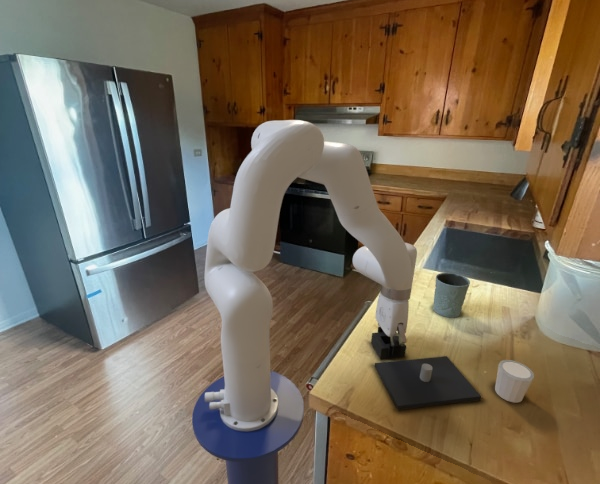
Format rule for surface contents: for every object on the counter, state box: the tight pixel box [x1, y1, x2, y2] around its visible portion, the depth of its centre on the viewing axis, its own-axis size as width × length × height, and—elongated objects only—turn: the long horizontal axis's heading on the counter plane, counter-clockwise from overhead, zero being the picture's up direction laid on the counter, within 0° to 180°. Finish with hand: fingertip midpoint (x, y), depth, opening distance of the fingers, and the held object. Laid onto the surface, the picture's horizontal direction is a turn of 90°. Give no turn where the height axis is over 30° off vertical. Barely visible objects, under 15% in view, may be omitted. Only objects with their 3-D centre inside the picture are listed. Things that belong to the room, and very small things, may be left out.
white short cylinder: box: [494, 359, 535, 404], centre depth 76 cm, size 7×7×7 cm
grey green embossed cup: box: [432, 272, 471, 318], centre depth 108 cm, size 10×10×12 cm
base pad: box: [374, 355, 482, 411], centre depth 79 cm, size 20×14×5 cm
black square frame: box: [370, 331, 407, 360], centre depth 90 cm, size 7×7×4 cm
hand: (387, 346), depth 91 cm, fingers closed on black square frame, 7 cm apart
